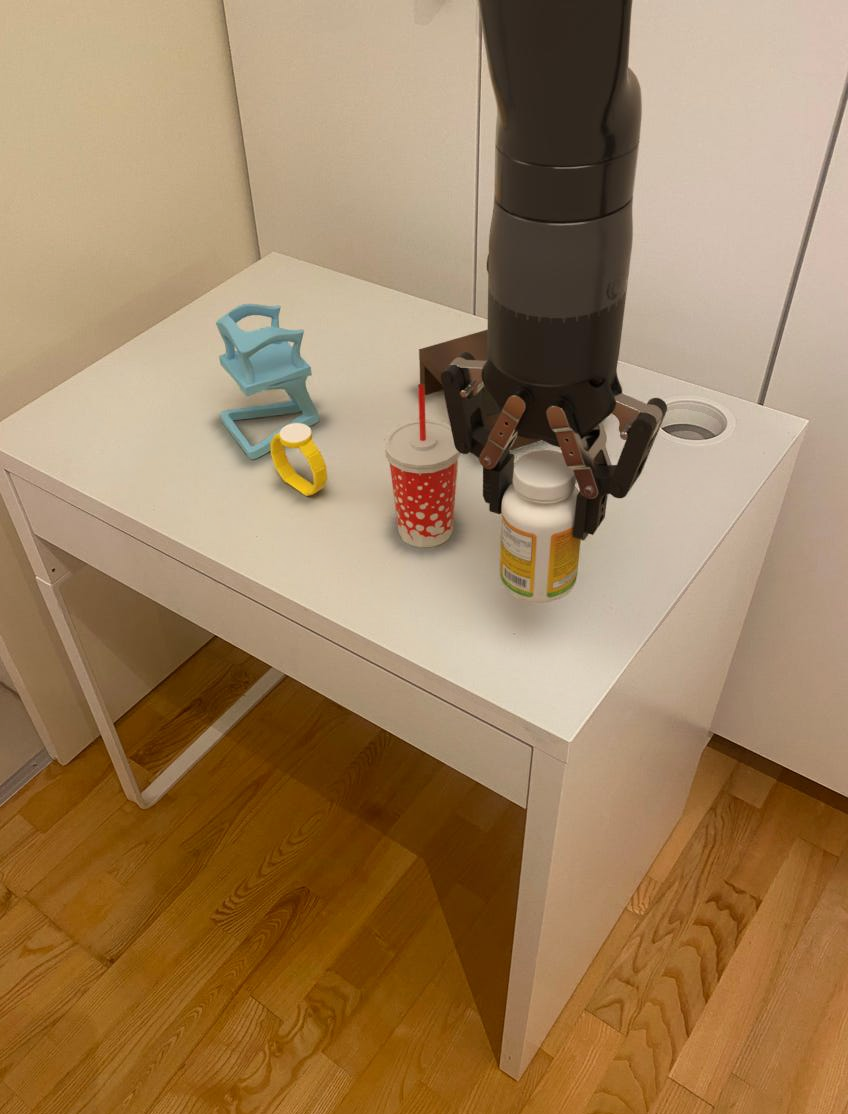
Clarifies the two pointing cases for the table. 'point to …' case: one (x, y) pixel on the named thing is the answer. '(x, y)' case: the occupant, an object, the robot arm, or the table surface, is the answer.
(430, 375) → the shelf
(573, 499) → the supplement bottle
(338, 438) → the table surface
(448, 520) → the beverage cup
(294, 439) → the watch
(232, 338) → the chair
